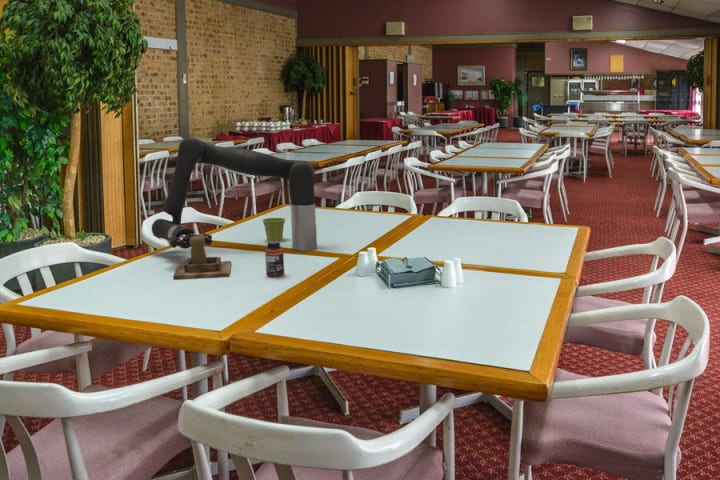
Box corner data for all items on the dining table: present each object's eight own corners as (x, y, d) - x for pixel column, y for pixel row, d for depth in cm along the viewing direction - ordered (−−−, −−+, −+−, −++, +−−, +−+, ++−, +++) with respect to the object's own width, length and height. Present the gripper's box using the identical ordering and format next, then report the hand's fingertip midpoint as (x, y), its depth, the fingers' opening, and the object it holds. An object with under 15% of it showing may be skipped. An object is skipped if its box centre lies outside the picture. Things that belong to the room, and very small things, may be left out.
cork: (204, 270, 251) (201, 238, 248) (187, 270, 252) (184, 238, 250) (211, 266, 256) (208, 234, 254) (194, 266, 258) (192, 234, 255)
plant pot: (258, 242, 302) (257, 220, 300) (270, 237, 310) (269, 217, 309) (279, 243, 298) (278, 222, 297) (290, 239, 307) (289, 218, 305)
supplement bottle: (274, 272, 252) (273, 239, 250) (288, 274, 249) (286, 241, 246) (262, 276, 247) (260, 242, 245) (276, 278, 244) (274, 244, 242)
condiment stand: (231, 264, 264) (230, 254, 264) (229, 276, 247) (228, 265, 246) (179, 266, 262) (178, 256, 261) (173, 279, 245) (172, 268, 244)
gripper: (161, 228, 265) (176, 235, 251) (199, 223, 272) (216, 230, 259) (162, 249, 266) (178, 257, 253) (200, 244, 274) (218, 251, 260)
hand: (197, 243), depth 256 cm, fingers open, 8 cm apart
